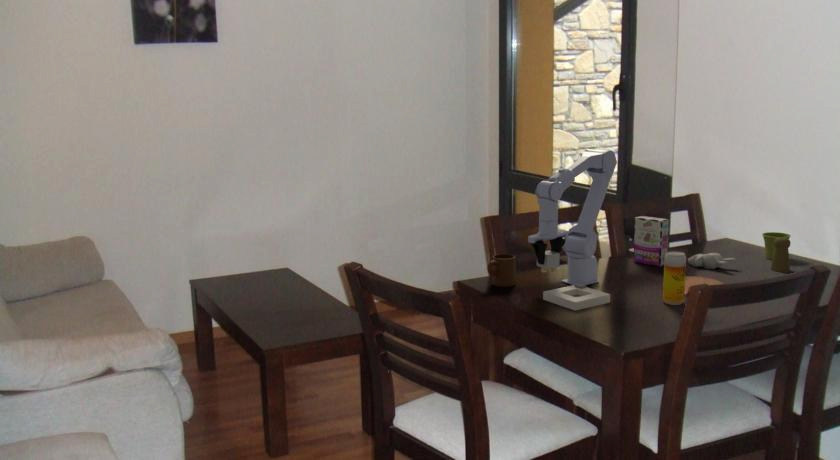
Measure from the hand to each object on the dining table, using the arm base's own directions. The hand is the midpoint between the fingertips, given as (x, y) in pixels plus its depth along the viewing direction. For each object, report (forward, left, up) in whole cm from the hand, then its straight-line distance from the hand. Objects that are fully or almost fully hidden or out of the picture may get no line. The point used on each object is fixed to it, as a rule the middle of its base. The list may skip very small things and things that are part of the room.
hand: (547, 262), depth 257 cm
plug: (0, 0, -3) cm, 3 cm away
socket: (0, +13, -9) cm, 16 cm away
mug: (+8, -14, -10) cm, 19 cm away
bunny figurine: (-65, +10, -10) cm, 66 cm away
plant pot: (-94, +15, -10) cm, 96 cm away
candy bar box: (-53, -6, -10) cm, 54 cm away
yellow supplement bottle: (-22, +31, -10) cm, 39 cm away
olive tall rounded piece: (-81, +26, -10) cm, 86 cm away
